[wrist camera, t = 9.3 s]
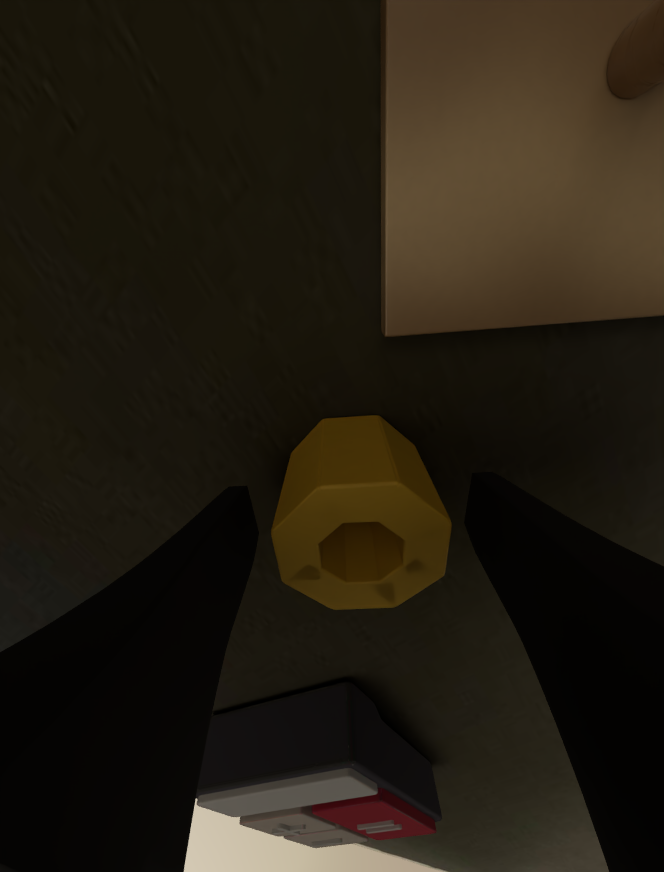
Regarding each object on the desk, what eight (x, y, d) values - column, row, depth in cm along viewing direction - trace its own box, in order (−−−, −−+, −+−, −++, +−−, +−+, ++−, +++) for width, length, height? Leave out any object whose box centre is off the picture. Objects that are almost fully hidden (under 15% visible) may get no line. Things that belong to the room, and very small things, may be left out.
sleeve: (411, 513, 12) (441, 606, 9) (301, 519, 13) (287, 612, 9) (417, 411, 10) (459, 479, 7) (285, 420, 11) (259, 490, 7)
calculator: (312, 854, 24) (178, 816, 17) (314, 773, 27) (205, 716, 21) (448, 838, 21) (355, 785, 14) (430, 752, 25) (349, 678, 18)
